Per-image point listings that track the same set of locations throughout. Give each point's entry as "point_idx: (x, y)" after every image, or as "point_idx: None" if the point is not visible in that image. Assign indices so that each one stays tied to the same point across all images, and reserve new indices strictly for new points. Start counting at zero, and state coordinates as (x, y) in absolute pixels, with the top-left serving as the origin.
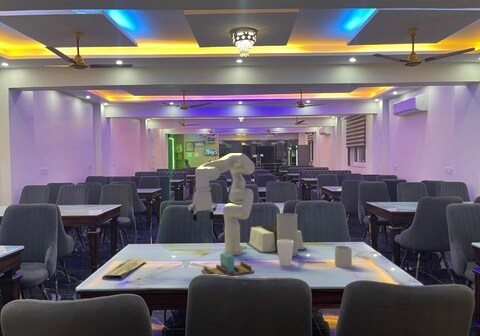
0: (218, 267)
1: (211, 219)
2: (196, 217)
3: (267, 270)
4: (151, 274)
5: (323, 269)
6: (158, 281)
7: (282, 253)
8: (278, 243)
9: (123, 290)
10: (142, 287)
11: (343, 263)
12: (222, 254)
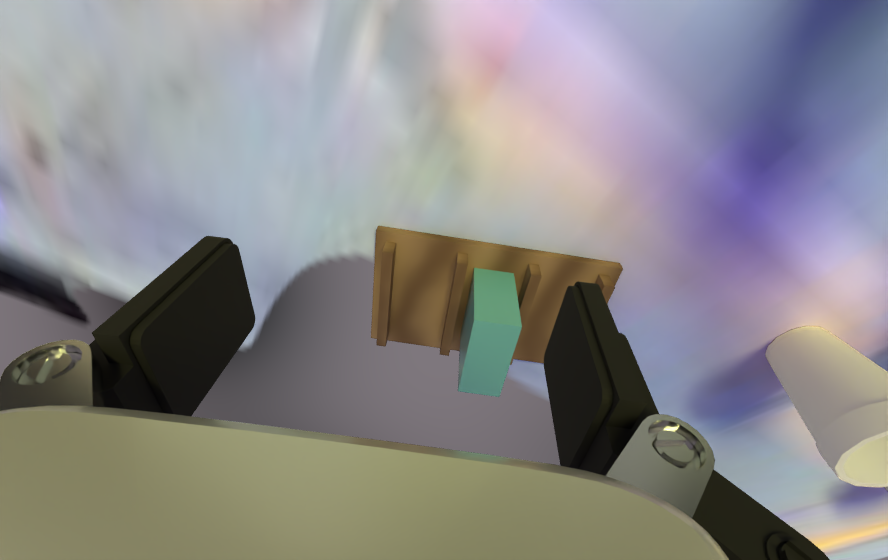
0: (452, 286)
1: (544, 357)
2: (217, 375)
3: (643, 366)
4: (95, 111)
5: (802, 453)
6: (148, 246)
7: (797, 409)
8: (835, 446)
9: (11, 271)
10: (86, 279)
11: (886, 489)
12: (471, 341)
